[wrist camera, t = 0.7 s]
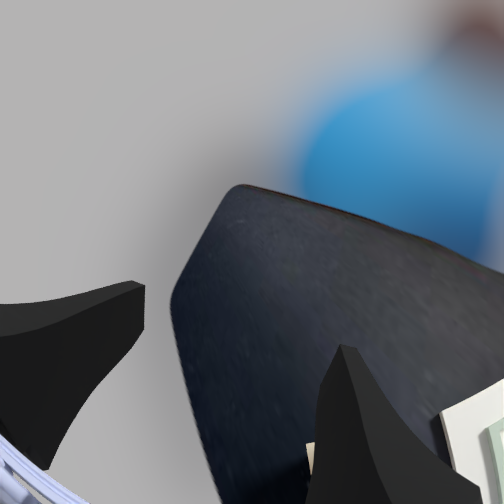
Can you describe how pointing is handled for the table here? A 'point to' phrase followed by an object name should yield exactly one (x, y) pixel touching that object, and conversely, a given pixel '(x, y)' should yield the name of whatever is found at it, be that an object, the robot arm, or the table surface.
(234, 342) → the table surface
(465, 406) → the collar board
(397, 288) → the table surface
